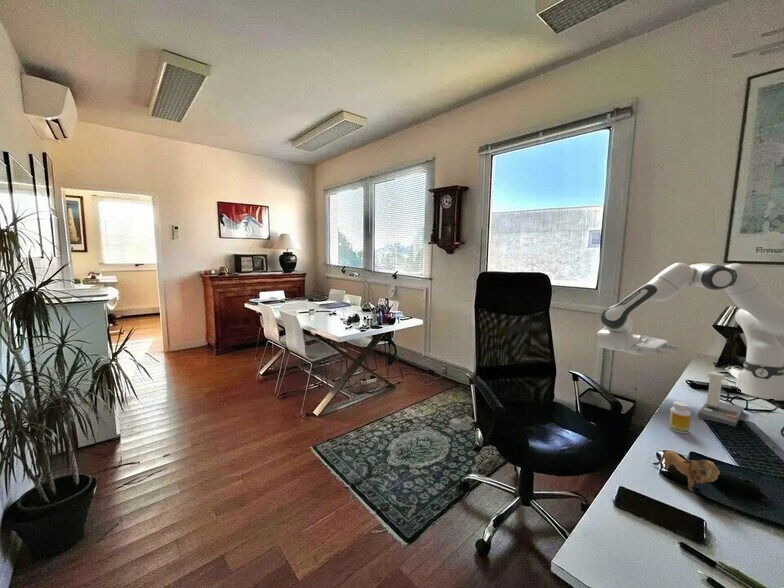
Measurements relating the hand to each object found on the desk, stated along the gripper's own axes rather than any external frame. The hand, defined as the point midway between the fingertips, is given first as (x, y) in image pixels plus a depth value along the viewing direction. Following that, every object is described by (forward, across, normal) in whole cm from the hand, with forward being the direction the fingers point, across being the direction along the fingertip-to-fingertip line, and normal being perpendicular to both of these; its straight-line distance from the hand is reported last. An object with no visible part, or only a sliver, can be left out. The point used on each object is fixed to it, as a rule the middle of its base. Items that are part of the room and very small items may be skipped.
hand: (675, 350), depth 139 cm
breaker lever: (+13, -2, +19) cm, 23 cm away
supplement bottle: (+8, -30, +22) cm, 38 cm away
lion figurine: (+16, -65, +21) cm, 70 cm away
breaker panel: (+15, -2, +22) cm, 27 cm away
